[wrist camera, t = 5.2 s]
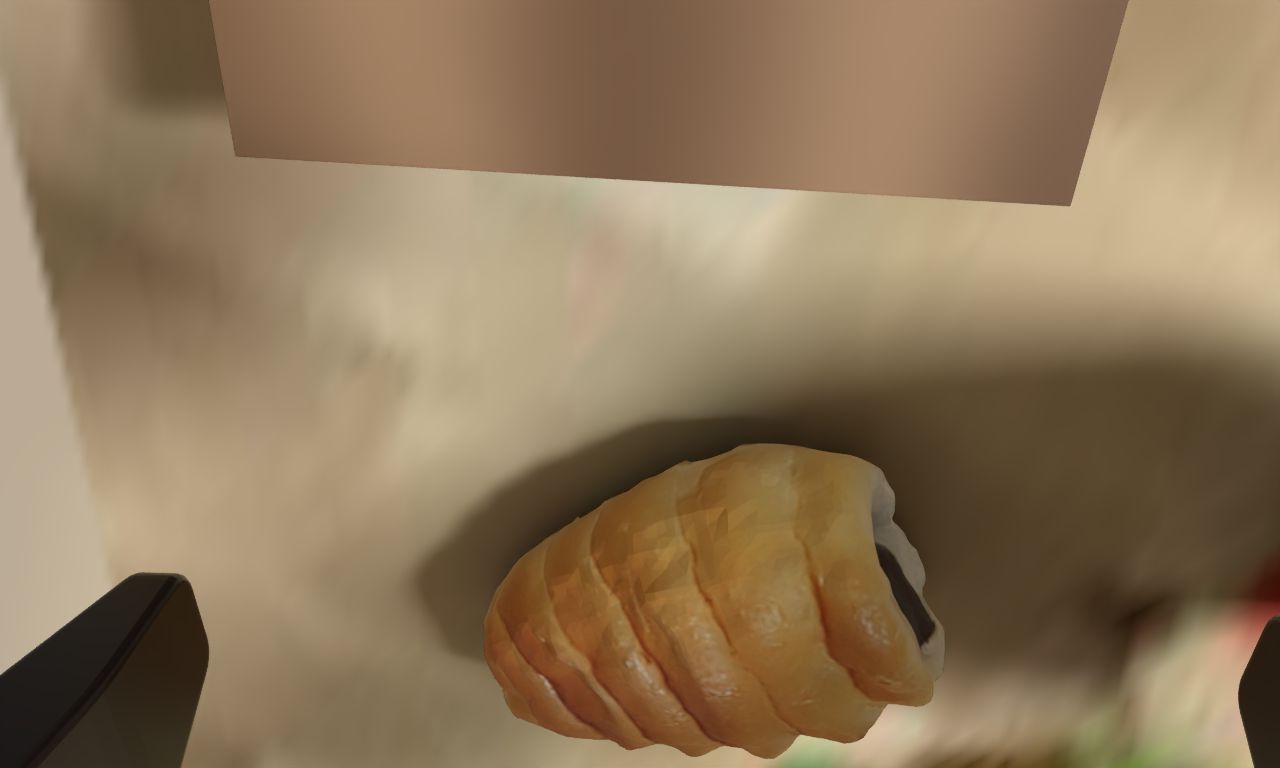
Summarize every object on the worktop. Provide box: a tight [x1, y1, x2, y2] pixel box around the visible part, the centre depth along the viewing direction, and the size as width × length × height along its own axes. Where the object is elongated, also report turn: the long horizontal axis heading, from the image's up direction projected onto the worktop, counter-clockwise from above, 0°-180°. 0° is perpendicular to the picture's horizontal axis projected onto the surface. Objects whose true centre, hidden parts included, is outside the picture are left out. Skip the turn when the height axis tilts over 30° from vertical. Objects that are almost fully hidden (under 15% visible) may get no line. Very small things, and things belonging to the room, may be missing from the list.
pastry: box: [483, 443, 945, 759], centre depth 23 cm, size 9×7×4 cm
